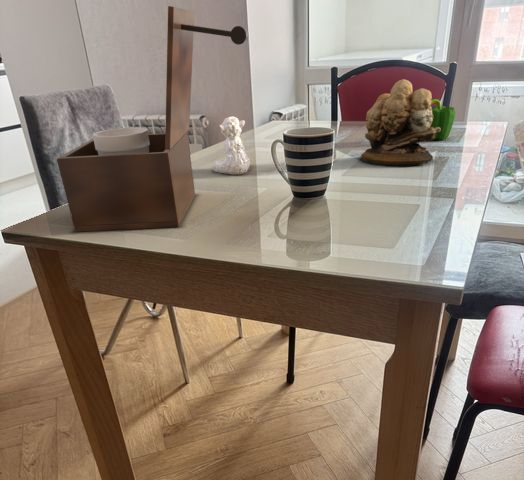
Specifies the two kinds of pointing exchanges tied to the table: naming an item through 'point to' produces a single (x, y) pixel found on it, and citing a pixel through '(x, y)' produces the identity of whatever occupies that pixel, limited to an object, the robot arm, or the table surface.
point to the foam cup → (122, 141)
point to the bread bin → (128, 186)
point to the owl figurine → (400, 127)
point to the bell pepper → (442, 119)
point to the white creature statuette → (232, 149)
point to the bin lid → (184, 68)
